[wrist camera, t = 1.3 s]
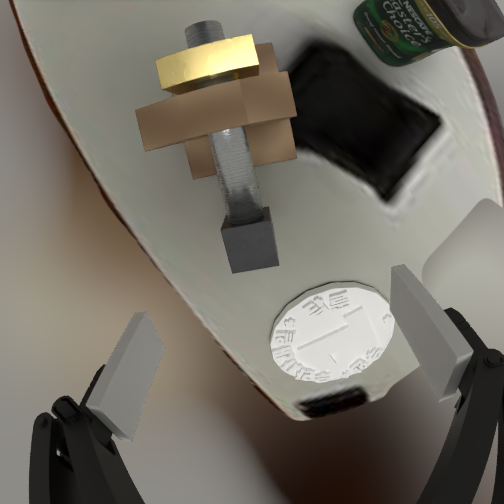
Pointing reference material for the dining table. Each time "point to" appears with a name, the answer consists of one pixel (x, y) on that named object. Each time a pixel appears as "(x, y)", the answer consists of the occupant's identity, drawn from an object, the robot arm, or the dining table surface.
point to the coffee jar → (427, 26)
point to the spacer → (208, 64)
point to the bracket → (227, 117)
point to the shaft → (237, 180)
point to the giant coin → (332, 332)
